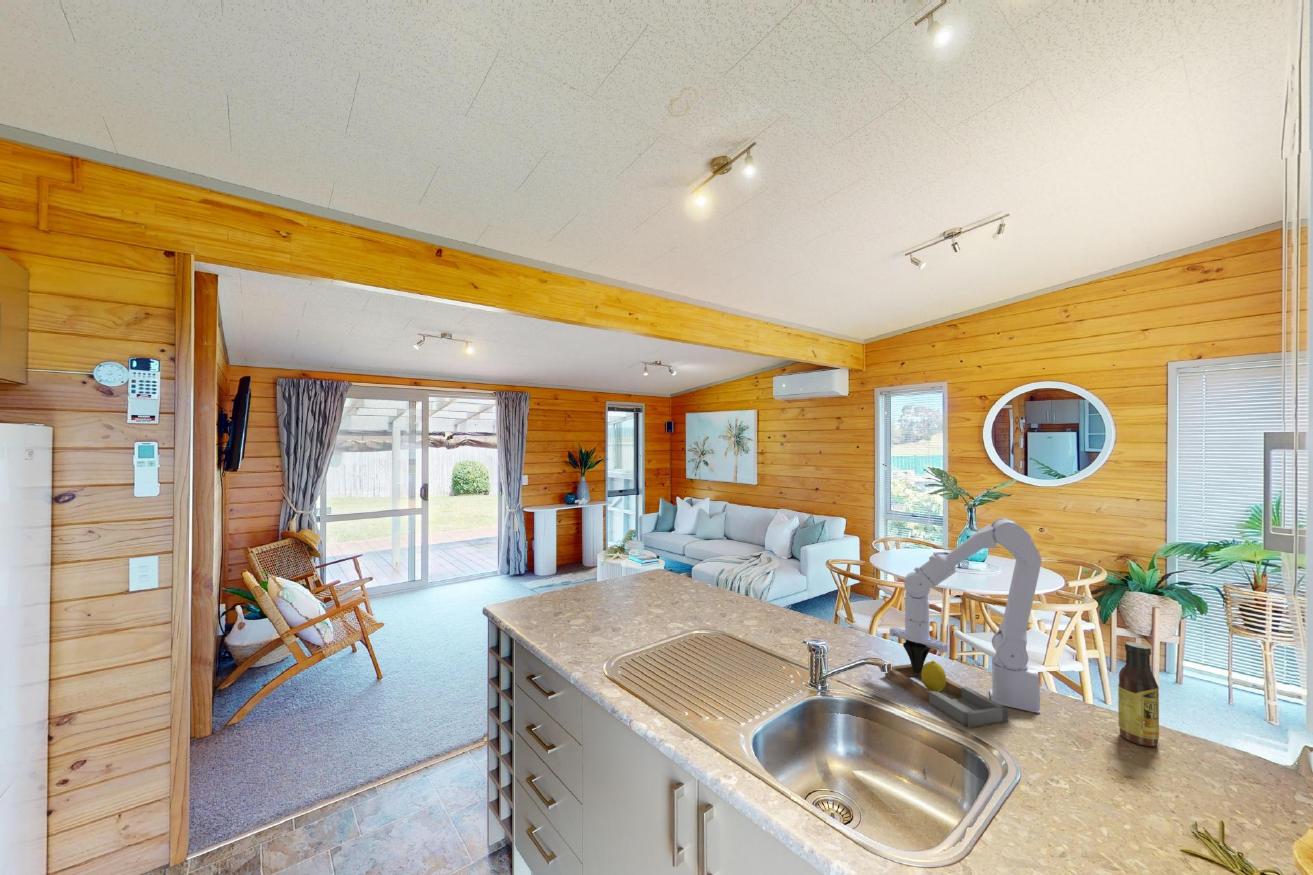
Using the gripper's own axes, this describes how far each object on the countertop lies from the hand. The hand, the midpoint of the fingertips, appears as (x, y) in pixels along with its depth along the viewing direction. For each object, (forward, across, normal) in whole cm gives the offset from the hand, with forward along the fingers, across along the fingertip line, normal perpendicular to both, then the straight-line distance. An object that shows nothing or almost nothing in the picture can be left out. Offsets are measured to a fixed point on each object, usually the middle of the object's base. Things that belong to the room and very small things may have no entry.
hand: (917, 671), depth 133 cm
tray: (+3, -15, +5) cm, 16 cm away
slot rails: (+3, -3, +1) cm, 4 cm away
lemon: (+3, -5, +2) cm, 6 cm away
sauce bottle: (+3, -40, -15) cm, 43 cm away
